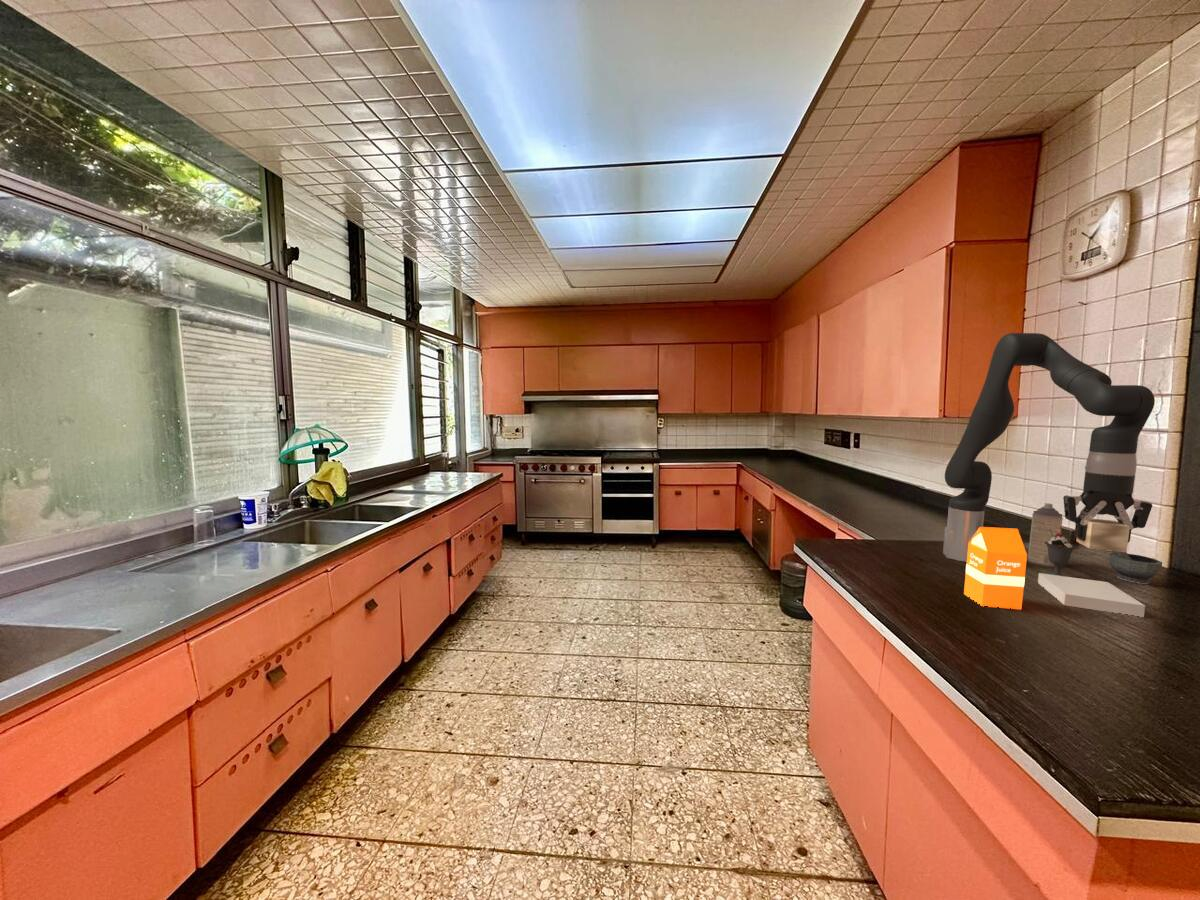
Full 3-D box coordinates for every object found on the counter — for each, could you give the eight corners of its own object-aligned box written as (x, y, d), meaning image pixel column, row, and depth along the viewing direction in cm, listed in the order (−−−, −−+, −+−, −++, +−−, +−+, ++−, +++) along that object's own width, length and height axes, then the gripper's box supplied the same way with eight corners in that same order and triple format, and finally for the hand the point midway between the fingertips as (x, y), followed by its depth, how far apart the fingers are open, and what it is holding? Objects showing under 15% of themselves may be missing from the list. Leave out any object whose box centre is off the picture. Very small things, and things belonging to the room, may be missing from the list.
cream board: (1064, 605, 111) (1065, 593, 111) (1037, 582, 125) (1038, 572, 125) (1143, 617, 105) (1145, 605, 105) (1106, 592, 119) (1107, 582, 119)
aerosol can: (1062, 566, 138) (1069, 505, 136) (1047, 568, 137) (1054, 506, 135) (1037, 559, 145) (1043, 501, 143) (1022, 560, 144) (1028, 502, 142)
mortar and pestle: (1154, 580, 127) (1160, 541, 126) (1163, 590, 121) (1169, 548, 119) (1097, 570, 135) (1101, 533, 134) (1102, 579, 128) (1107, 540, 127)
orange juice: (1022, 609, 109) (1030, 533, 107) (982, 606, 111) (989, 530, 109) (1000, 596, 117) (1007, 524, 114) (963, 593, 118) (969, 522, 116)
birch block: (1089, 548, 100) (1092, 523, 100) (1076, 541, 106) (1079, 517, 105) (1126, 552, 98) (1129, 526, 97) (1111, 544, 103) (1114, 520, 102)
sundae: (1057, 572, 133) (1063, 525, 132) (1079, 581, 126) (1085, 532, 125) (1034, 572, 134) (1039, 525, 132) (1055, 580, 127) (1060, 531, 126)
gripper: (1074, 471, 100) (1066, 541, 102) (1167, 476, 93) (1156, 551, 95) (1059, 467, 106) (1052, 533, 108) (1144, 471, 100) (1135, 542, 101)
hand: (1101, 541), depth 102 cm, fingers closed on birch block, 6 cm apart
